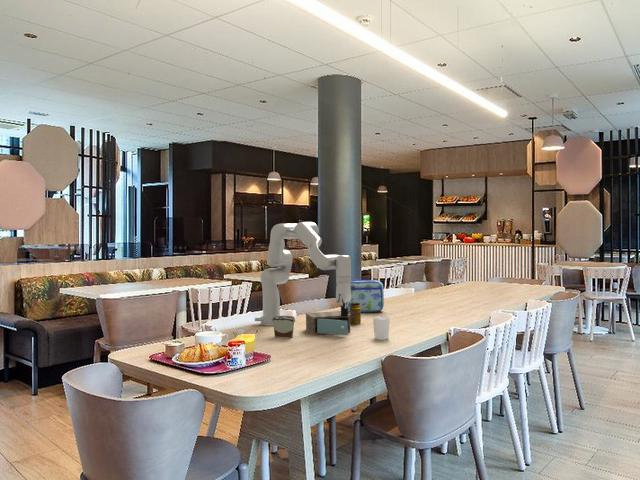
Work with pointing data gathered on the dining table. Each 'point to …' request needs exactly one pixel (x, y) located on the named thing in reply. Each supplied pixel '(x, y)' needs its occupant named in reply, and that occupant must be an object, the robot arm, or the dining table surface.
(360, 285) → the lunch box
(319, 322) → the door
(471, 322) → the dining table surface
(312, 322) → the bread box
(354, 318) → the condiment
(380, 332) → the white cup
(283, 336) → the food container
